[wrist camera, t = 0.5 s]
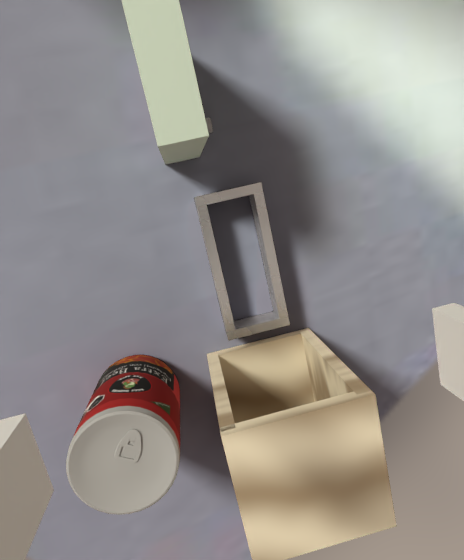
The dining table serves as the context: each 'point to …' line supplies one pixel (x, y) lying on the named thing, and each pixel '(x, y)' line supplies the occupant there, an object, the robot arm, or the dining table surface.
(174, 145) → the pale green rectangular block
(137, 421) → the canned food
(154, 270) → the dining table surface
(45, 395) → the dining table surface
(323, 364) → the open wooden box
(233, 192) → the grey rectangular frame
